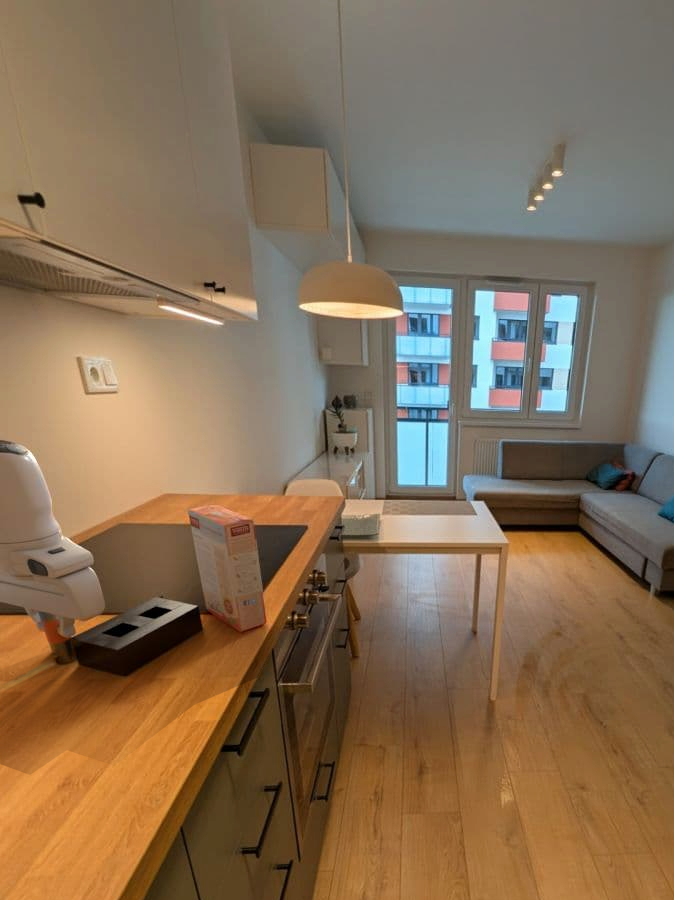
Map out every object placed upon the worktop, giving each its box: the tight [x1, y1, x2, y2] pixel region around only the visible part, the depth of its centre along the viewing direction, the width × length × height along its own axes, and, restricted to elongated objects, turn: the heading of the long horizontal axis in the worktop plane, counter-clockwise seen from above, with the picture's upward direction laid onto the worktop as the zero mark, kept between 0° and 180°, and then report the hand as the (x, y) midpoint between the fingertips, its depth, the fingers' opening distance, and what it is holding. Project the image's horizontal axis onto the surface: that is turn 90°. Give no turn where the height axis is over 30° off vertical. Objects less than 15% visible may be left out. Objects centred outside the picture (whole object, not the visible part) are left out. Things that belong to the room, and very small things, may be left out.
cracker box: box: [187, 504, 268, 633], centre depth 95 cm, size 14×6×21 cm, turn 48°
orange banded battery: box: [38, 611, 77, 665], centre depth 81 cm, size 3×3×14 cm
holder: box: [70, 596, 204, 678], centre depth 88 cm, size 10×17×5 cm, turn 162°
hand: (57, 632), depth 82 cm, fingers closed on orange banded battery, 3 cm apart
